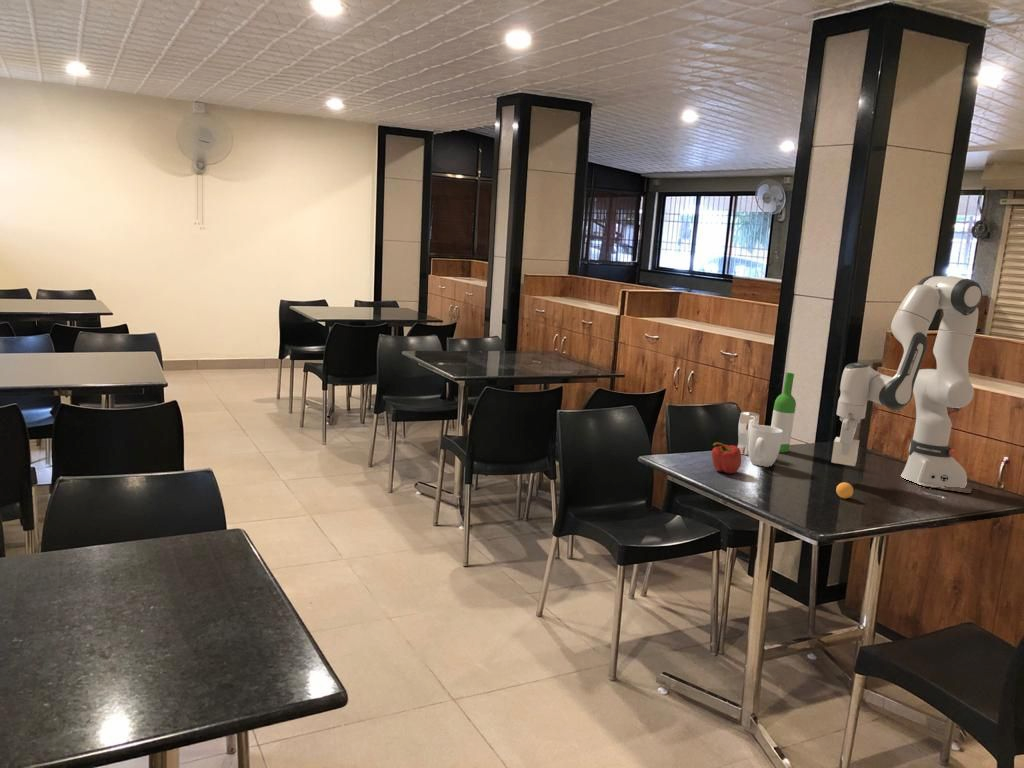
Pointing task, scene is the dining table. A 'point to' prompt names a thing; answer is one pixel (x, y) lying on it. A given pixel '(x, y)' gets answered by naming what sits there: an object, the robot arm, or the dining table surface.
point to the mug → (764, 444)
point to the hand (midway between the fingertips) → (845, 451)
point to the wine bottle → (785, 413)
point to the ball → (844, 490)
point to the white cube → (845, 459)
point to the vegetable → (726, 458)
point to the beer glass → (746, 430)
